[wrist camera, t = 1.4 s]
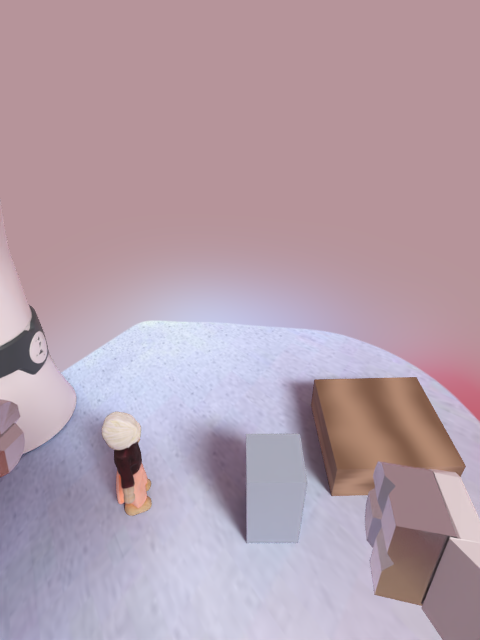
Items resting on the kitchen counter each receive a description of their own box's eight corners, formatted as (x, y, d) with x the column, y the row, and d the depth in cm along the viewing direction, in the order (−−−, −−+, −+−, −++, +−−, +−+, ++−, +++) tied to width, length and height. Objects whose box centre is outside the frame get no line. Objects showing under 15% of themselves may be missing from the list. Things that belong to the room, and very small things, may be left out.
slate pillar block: (246, 543, 39) (246, 482, 33) (245, 495, 43) (246, 434, 37) (298, 542, 39) (307, 482, 33) (292, 494, 43) (299, 433, 37)
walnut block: (331, 497, 43) (337, 469, 40) (310, 407, 54) (314, 379, 51) (451, 494, 43) (465, 466, 40) (407, 404, 54) (416, 377, 51)
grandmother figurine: (115, 475, 45) (90, 395, 38) (149, 464, 46) (131, 384, 39) (123, 541, 39) (96, 460, 32) (162, 527, 40) (144, 447, 33)
